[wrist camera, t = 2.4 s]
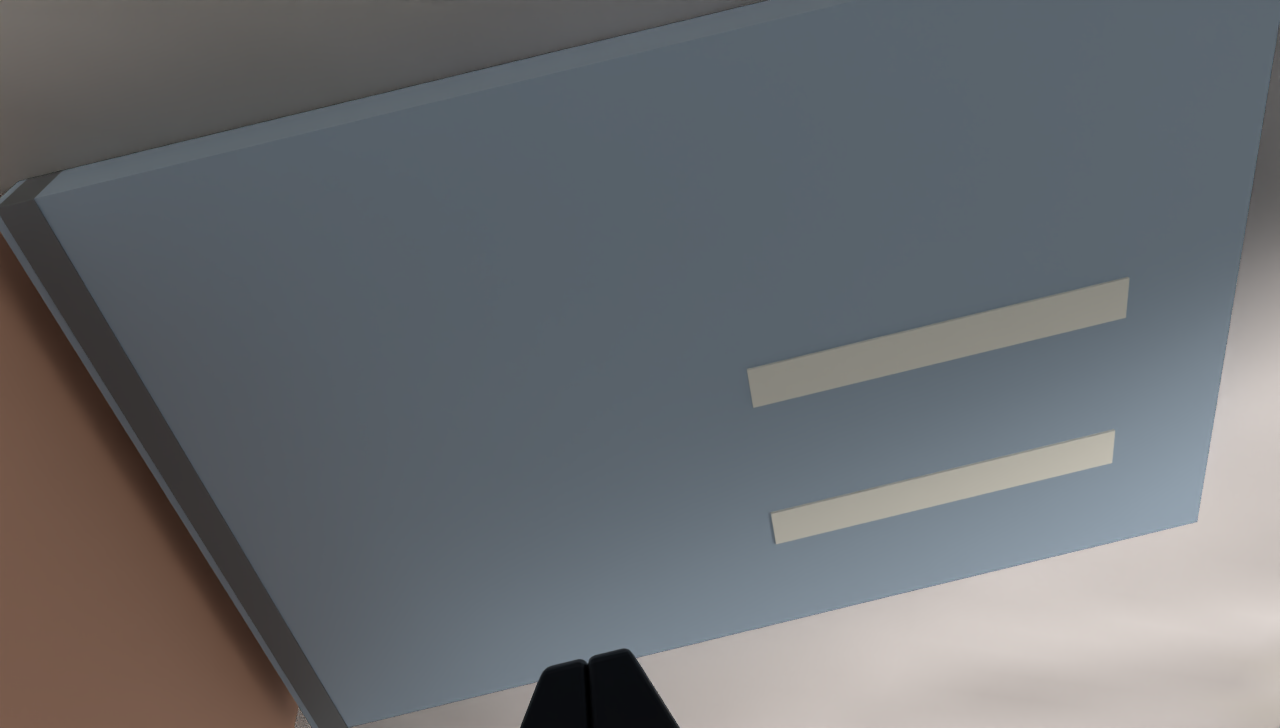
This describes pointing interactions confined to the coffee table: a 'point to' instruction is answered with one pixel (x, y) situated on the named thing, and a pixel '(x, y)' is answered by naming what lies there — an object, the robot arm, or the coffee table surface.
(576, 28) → the coffee table surface
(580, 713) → the robot arm
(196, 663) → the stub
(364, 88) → the coffee table surface
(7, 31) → the coffee table surface
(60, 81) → the coffee table surface
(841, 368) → the blue book
